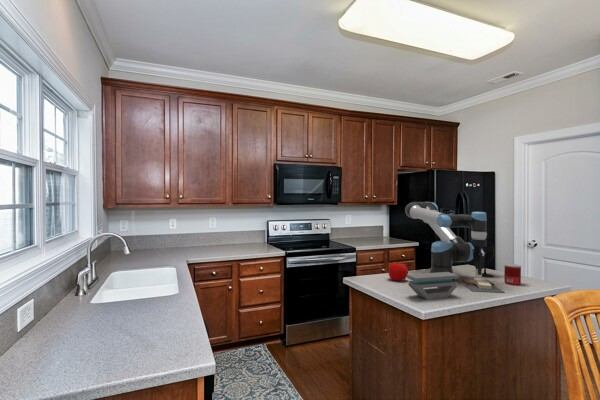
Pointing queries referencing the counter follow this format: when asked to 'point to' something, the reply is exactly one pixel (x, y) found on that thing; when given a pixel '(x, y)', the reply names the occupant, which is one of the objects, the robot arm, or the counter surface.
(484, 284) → the birch tile
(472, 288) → the rubber mat
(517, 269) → the canned food
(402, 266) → the tomato
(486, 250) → the wine glass
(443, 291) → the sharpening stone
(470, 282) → the walnut deck
